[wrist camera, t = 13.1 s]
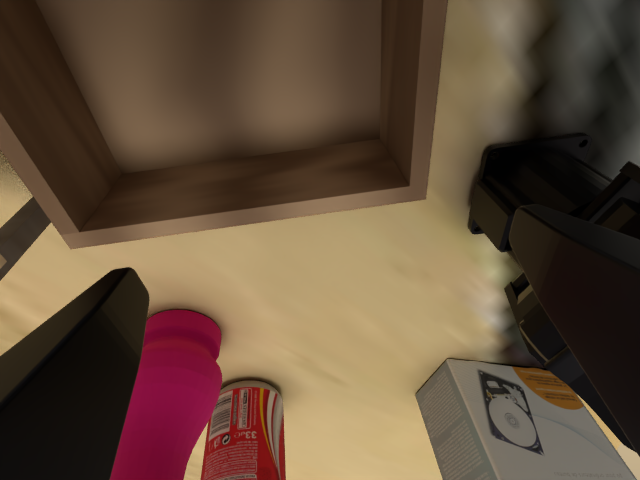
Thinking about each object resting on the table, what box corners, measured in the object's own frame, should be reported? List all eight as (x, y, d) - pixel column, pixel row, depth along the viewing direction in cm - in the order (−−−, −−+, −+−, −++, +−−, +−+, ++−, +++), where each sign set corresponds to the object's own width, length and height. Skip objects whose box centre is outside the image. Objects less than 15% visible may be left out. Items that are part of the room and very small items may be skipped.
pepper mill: (117, 314, 27) (-104, 810, 11) (209, 296, 27) (118, 772, 11) (159, 366, 31) (46, 770, 15) (238, 350, 31) (205, 742, 15)
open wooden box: (400, -156, 13) (583, -330, 5) (390, 161, 21) (457, 272, 14) (-146, -94, 13) (-798, -189, 5) (57, 207, 21) (-70, 349, 13)
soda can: (198, 400, 35) (168, 576, 25) (241, 367, 33) (227, 549, 22) (254, 418, 39) (248, 578, 29) (297, 389, 36) (307, 555, 26)
